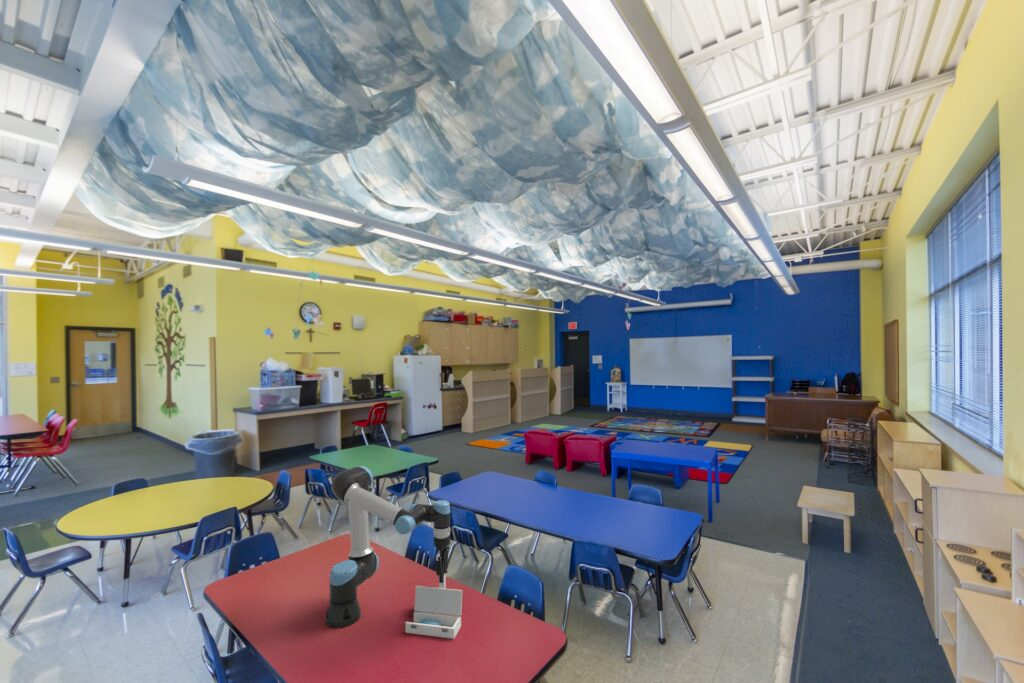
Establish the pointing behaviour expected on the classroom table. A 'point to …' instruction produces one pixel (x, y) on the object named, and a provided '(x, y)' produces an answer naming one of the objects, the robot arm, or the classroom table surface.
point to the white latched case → (434, 629)
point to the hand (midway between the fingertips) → (442, 588)
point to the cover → (438, 600)
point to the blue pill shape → (429, 622)
